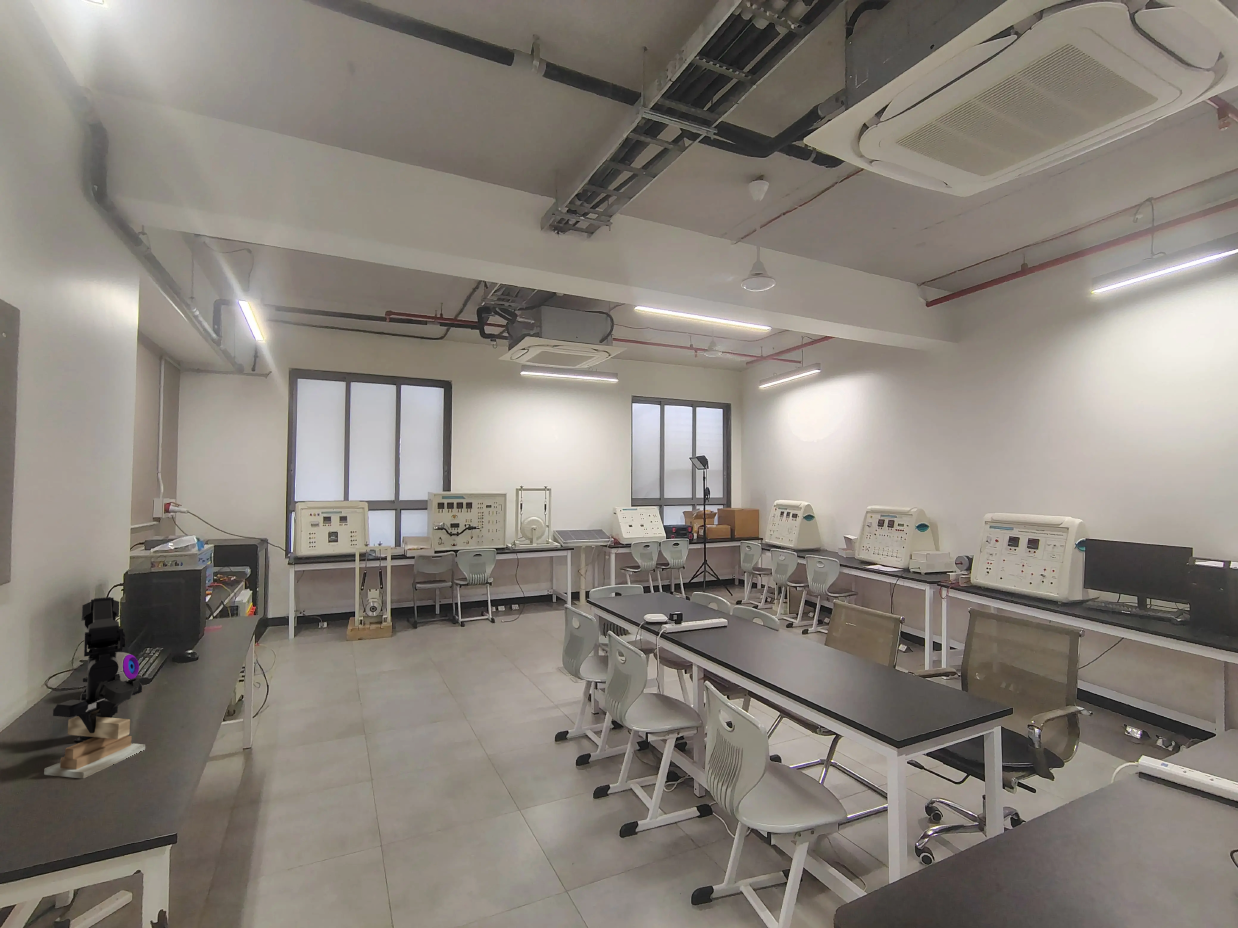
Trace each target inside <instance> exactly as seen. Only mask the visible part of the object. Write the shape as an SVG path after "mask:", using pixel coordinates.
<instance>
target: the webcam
mask: <svg viewBox="0 0 1238 928" xmlns="http://www.w3.org/2000/svg"><path fill="white" fill-rule="evenodd" d="M116 653H117V654H116V660H117V663H118V667H119V668H118V672H117V673H116V674H119V675H120V680H121V681H126V680H127V681H128V680H130V679H133V678H137V676H138V674H139V670H140V664H139V660H138V659H137V658H136V656H135V655H133V654H130V653H128V652H123V651H120V652H116Z"/></svg>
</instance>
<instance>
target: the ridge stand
mask: <svg viewBox="0 0 1238 928" xmlns="http://www.w3.org/2000/svg"><path fill="white" fill-rule="evenodd" d="M132 738H133V736H132V735H127V736H124V737H122V738H119V739H111V738H100V737H93V738H90V739H88V740H85V741H83V742H78V743H76V744H73V745H71V746H68V747H65V750H64V756H62V757H60V761H59V762H57V763H55V764H52V765H49V766H48V767H45V768H44V772H43V775H45V776H52V777H53V776H54V777H63V778H64V777H66V778H73V779H74V778H76V779H86V778H87V777H90V776H92V775H94V774H96V773H98V772H100V771H103V770H105V769H107V768H109V767H111V766H113V764H114V765H116V764H118V763H120V762H122V761H124V760H126V758H127V759H128V757H129V758H131V757H133V756H135V755H137V754H139V752H140V751H142V752H144V751H145V750H146V744H143V743H132ZM143 750H144V751H143ZM136 753H137V754H136ZM140 753H141V752H140ZM134 754H135V755H134ZM132 755H133V756H132ZM130 756H131V757H130Z"/></svg>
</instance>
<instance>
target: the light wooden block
mask: <svg viewBox="0 0 1238 928" xmlns="http://www.w3.org/2000/svg"><path fill="white" fill-rule="evenodd" d="M67 724H68V725H67V735H68V736H79V737H80V736H89V737H100V738H111V739H119V738H122V737H124V736H127V735H128V736H130V728H131V727H130V726H131V718H130V719H129V718H119V717H117V718H115V717H112V718H108V717H96V727H95V732H94V733H90V732H89V731H88V729H87V728H86V726H85V724H84V723H83V721H82V720H81V719H80V717H79V716H77V717H76V716H74V717H71V718H68V723H67Z"/></svg>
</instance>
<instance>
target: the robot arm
mask: <svg viewBox="0 0 1238 928" xmlns="http://www.w3.org/2000/svg"><path fill="white" fill-rule="evenodd" d="M119 614H120V601H119V600H115V599H114V597H111V596H107V597H106V596H105V597H94V598H93V599H92V598H91V600H90V601H89V602H87V603H84V604H82V607H81V620H80V621H82V622H83V621H84V622H83V626H84V628H85V629H86V632H84V637H83V638H84V641H83V645H84V646H83V657H84V658H85V657H88V658H87V670H86V671H87V672H86V673H87V674H86V675H87V676H86V677H83V678H82V682H83V683H86V687H85V688H84V690H83V691H82V693H80V699H79V700H78V699H70V700H67V701H63V702H61V703H57V704H56V705H55V706H54V707H53V709H52V711H53V712H52V717H60V718H61V717H63V718H74V717H77V716H79V717H80V719H81V720H82V721H83V723H84V724H85V726H86V728H87V729H88V731H89V732H90V733H94V732H95V727H96V717H108V718H113V716H115V715H116V714H118V710H119V709H118V708H119V706H120V705H121V704H123V703H124V702H126V701H128V700H130V699H131V698H132V696H136V695H137V694H141V693H143V685H142V683H141V682H140V679H139V678H138V677H136V678H133V679H130V680H128V681H127V680H126V681H121V680H120V675H119V674H116V673H117V672H118V668H119V667H118V663H117V660H116V654H117V653H116V652H123V648H125V647H126V631H124V628H123V627H120V623H119V622H120V621H117V620H116V618H118V617H119ZM90 738H93V737H89V736H79V737H78V738H74V739H73V740H74V741H73V742H78V743H80V742H83V741H85V740H88V739H90Z"/></svg>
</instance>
